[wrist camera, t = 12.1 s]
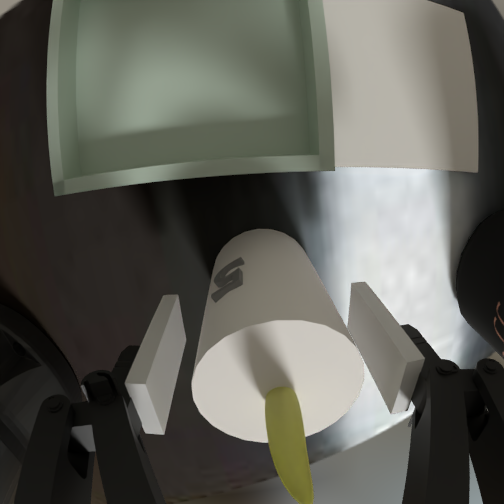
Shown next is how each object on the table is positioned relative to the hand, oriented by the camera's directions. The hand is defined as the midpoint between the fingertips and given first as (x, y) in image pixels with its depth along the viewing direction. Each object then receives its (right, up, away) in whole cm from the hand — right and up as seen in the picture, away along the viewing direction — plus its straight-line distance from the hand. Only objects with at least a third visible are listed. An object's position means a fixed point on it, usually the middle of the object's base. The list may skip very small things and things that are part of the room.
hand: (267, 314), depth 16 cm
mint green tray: (-4, +14, 0) cm, 14 cm away
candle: (0, +2, +5) cm, 5 cm away
